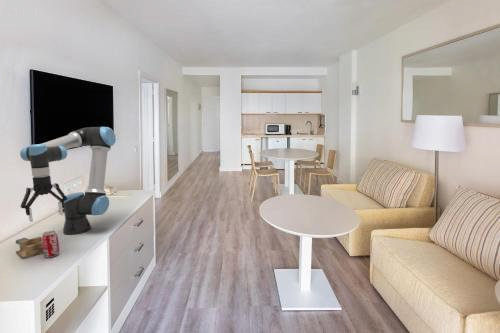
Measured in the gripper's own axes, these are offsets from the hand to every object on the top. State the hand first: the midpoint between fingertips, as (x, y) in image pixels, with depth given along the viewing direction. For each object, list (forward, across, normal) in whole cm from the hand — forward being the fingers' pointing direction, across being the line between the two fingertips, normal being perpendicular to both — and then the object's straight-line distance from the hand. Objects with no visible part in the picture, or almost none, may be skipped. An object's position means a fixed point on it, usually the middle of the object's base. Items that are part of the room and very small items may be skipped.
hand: (46, 217), depth 170 cm
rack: (+20, +4, -13) cm, 24 cm away
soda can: (+20, 0, 0) cm, 20 cm away
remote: (+20, +2, -29) cm, 36 cm away
